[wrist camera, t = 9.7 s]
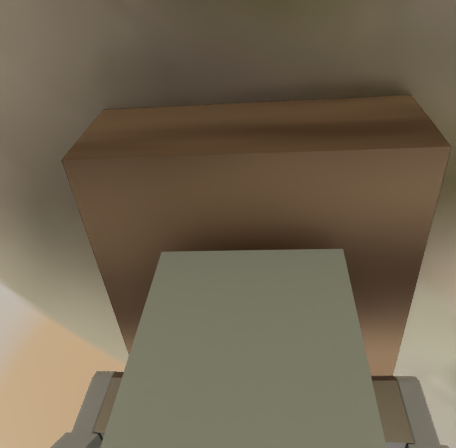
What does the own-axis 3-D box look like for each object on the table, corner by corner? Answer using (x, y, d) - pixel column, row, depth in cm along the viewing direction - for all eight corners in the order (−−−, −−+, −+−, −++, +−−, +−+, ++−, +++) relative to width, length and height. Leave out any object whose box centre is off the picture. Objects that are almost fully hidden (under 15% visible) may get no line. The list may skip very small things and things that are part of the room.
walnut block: (107, 105, 15) (61, 160, 11) (408, 90, 13) (450, 146, 10) (157, 305, 20) (137, 378, 17) (370, 306, 19) (390, 384, 16)
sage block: (161, 251, 12) (66, 554, 6) (342, 248, 11) (415, 579, 6) (187, 360, 15) (137, 632, 9) (331, 362, 14) (373, 652, 9)
